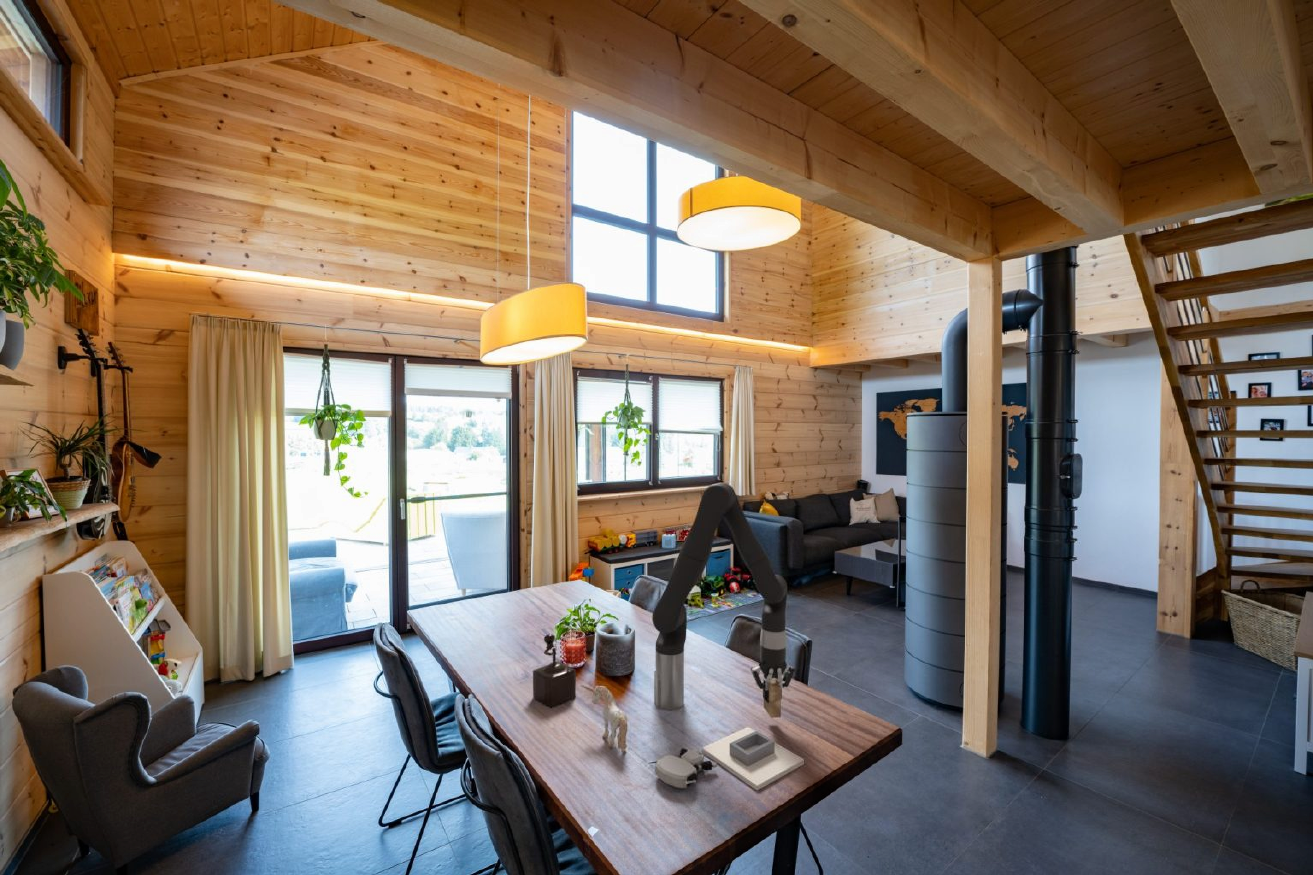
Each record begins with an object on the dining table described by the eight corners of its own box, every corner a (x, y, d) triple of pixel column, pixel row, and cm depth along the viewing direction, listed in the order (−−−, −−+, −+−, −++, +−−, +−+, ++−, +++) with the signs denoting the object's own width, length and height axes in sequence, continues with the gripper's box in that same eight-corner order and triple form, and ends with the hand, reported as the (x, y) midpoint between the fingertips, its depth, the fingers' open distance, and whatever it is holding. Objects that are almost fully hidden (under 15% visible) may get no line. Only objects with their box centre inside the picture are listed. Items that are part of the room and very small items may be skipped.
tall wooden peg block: (771, 717, 159) (771, 687, 159) (763, 707, 164) (764, 678, 164) (780, 716, 159) (781, 686, 159) (773, 706, 165) (773, 677, 165)
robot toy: (682, 757, 147) (645, 778, 135) (683, 740, 147) (646, 760, 136) (720, 776, 139) (683, 800, 127) (720, 758, 139) (684, 780, 128)
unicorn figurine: (599, 721, 163) (599, 677, 163) (642, 749, 149) (642, 700, 149) (580, 730, 158) (580, 685, 158) (622, 759, 144) (622, 709, 144)
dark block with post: (578, 697, 178) (578, 642, 178) (550, 709, 170) (550, 652, 170) (550, 682, 189) (551, 631, 189) (523, 693, 181) (523, 639, 181)
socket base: (757, 790, 131) (757, 773, 131) (702, 752, 147) (702, 736, 147) (803, 763, 142) (803, 748, 142) (748, 730, 158) (748, 716, 158)
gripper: (755, 649, 157) (754, 708, 157) (800, 647, 159) (799, 705, 159) (746, 640, 164) (745, 696, 164) (789, 637, 167) (789, 693, 167)
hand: (772, 700), depth 162 cm, fingers closed on tall wooden peg block, 3 cm apart
